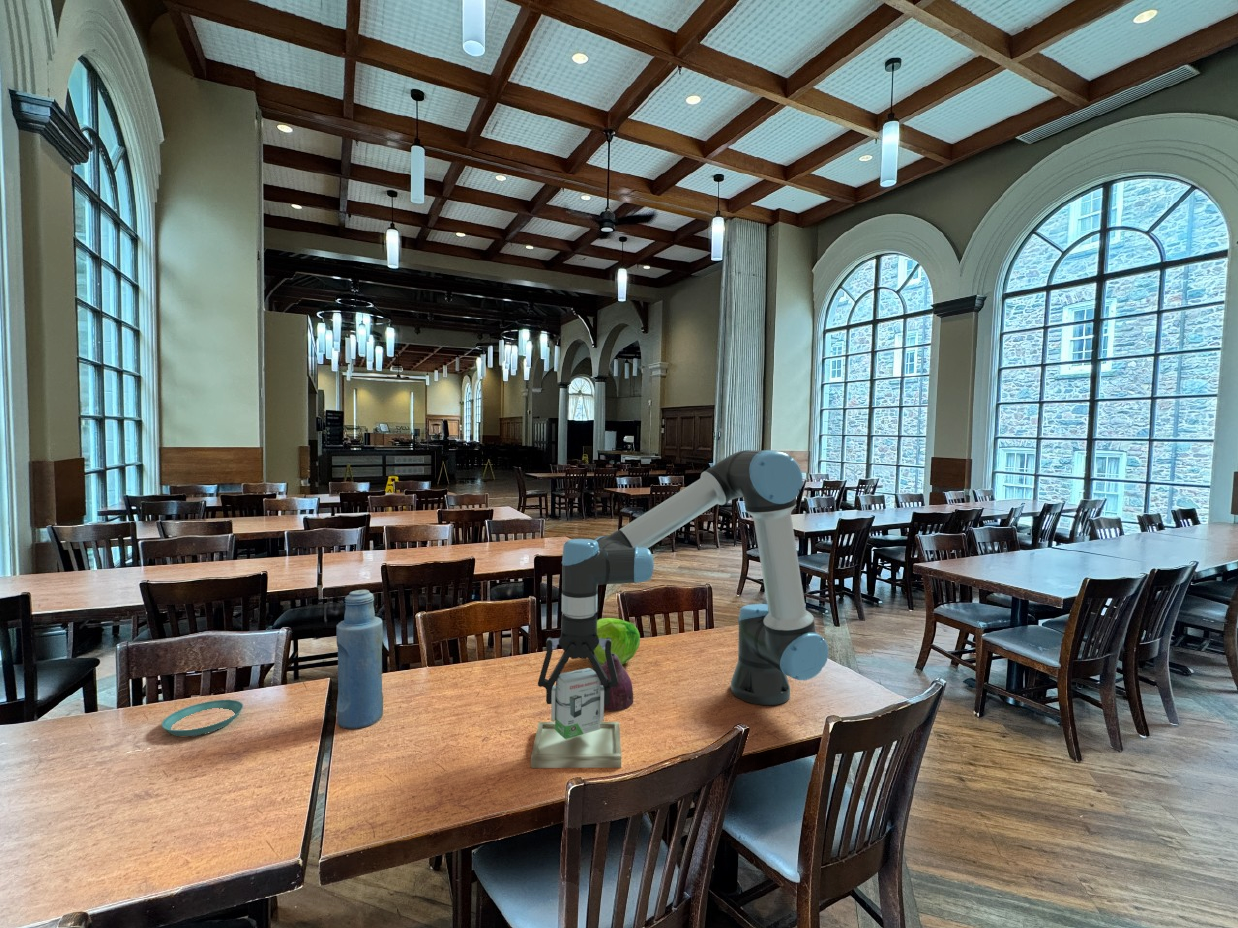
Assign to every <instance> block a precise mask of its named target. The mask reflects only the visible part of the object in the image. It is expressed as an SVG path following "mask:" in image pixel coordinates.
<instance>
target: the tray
mask: <svg viewBox="0 0 1238 928" xmlns="http://www.w3.org/2000/svg"><path fill="white" fill-rule="evenodd" d="M537 724H538V725H537V728H536V733H535V737H534V742H533V746H532V752H531V755H530V769H579V768H580V769H581V768H582V769H591V768H593V769H594V768H595V769H596V768H597V769H599V768H600V769H602V768H605V769H606V768H607V769H608V768H609V769H611V768H613V769H614V768H615V769H616V768H622V747H621V744H622V743H621V733H620V731H621V730H620V721H600V729H599V730H596V731H592V732H589V733H585V734H582V735H578V736H575V737H571V738H568V739H564V738H563V737H562V736H561V735H560V734H559V733H558V732H557V731H556V730H555V721H538V723H537Z"/></svg>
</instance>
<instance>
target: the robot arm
mask: <svg viewBox="0 0 1238 928" xmlns="http://www.w3.org/2000/svg"><path fill="white" fill-rule="evenodd" d="M803 481H804V480H803V473H802V470H801V467H800V466H799V464H798V463H797V461H796V460H795V459H794V458H793V457H792V456H790V455H789V454H787V453H785V452H782V451H777V450H773V449H766V450H764V449H763V450H762V449H761V450H759V449H758V450H747V449H746V450H740V451H737V452H734V453H732V454H731V455H728V456H727V457H725V458H723V459H721V460H720V461H718V462H716V463H715V464H714V465H712V466H711V467H708V468H707V469H706V470H704V471H703V472H701V474H700V478H699V479H697V480H695V481H694V482H692V483H691V484H689V485H688V486H686V487H685V488H683V489H681V490H680V491H677V493H675V494H674V495H672V496H670V497H669V498H667V499H665V500H664V501H663V502H661V503H660V504H658V505H656V506H654V507H652V508H651V509H649V510H648V511H646V512H645V513H643V514H642V515H640V516H638V517H636V518H635V519H633V520H632V521H631V522H629V523H627V524H626V525H624V526H622V527H621V528H620V529H618V530H616V531H614V532H612V533H611V534H610V535H602V536H598V537H596V538H595V539H590V538H573V539H568V540H566V541H565V542H564V544H563V547H562V549H563V550H562V561H561V564H562V565H561V566H562V567H561V569H562V570H561V571H562V572H561V573H562V575H561V576H562V577H561V578H562V581H561V582H562V583H561V584H562V585H561V613H562V615H561V623H560V624H561V628H560V629H561V631H560V632H561V633H560V636H559V637H555V638H552V636H548V637H547V639H546V641H545V646H546V651H545V657H544V659H543V664H542V666H541V671H540V673H539V677H538V681H537V686H538V687H539V688H541V687H543V688H544V689H545V691H546V693H545V694H546V695H545V697H546V698H545V699H546V701H545V702H546V704H547V705H551V712H550V714H551V718H550V719H551V720H550V722H555V703H556V680H557V678H558V676H559V675H560V674H561V673H562V671H563V669H564V667H565V665H566V664H567V662H568V661H569V659H572V660H573V659H575V660H576V659H581V660H583V659H585V660H586V659H587V660H588V662H589V663H590V665H591V666H592V669H593V670H594V671H595V672H596V674H597V676H598V678H599V680H600V681H601V683H602V685H601V691H600V722H605V720H604V719H605V710H604V704H609V696H610V689H611V688H612V687H617V686H618V677H617V673H616V669H615V665H614V661H613V657H612V653H611V638H609V637H607V638H606V639H601V638H599V637H598V635H597V620H598V615H597V614H596V613H598V586H599V585H618V584H637V583H638V584H639V583H644V582H645V583H646V582H648V581H649V580H651V578H652V576H653V574H654V557H653V555H652V552H651V550H650V549H649V548H650V547H652V546H654V545H655V544H656V543H658V542H660V541H662V540H663V539H665V537H667V536H669V535H670V534H672V533H674V532H676V531H677V530H678V529H680V528H681V527H683V526H684V525H687V524H688V523H690V522H691V521H692V520H694V519H696V518H697V517H698V516H700V515H702V514H703V513H705V512H707V511H708V510H710V509H711V508H713V507H714V506H716V505H720V506H723V505H725V504H727V503H728V502H730V501H732V500H735V499H738V498H743V501H744V502H743V503H744V508H745V513H746V514H747V513H748V515H750V516H751V517H752V518H753V523H754V529H755V536H756V541H757V549H758V554H759V561H760V567H761V573H762V579H763V585H764V594H765V598H766V604H765V603H755V604H747V605H744V606H742V607H741V608H740V609H739V614H738V643H737V644H738V649H737V650H738V651H737V652H738V653H737V654H738V655H737V656H738V657H737V664H736V666H735V669H734V672H733V675H732V678H731V680H730V691H731V693H732V695H733V696H735V697H736V698H737V699H740V700H741V701H744V702H747V703H750V704H754V705H758V706H759V705H760V706H776V705H781V704H784V703H786V702H788V701H789V699H790V698H791V686H790V683H789V680H788V677H790V678H792V679H794V680H797V681H807V680H808V681H809V680H811V679H812V678H815V677H816V676H818V675H819V674H820V673H821V671H822V670H823V668H824V667H826V664H827V661H828V658H829V645H828V643H827V641H826V639H825V638H823V636H822V635H821V634H820V633H817V631H816V624H815V618H814V615H813V614H812V613H811V612H810V611H808V610H807V609H806V604H805V603H806V601H805V597H804V589H803V584H802V578H801V570H800V565H799V557H798V551H797V544H796V537H795V531H794V524H793V518H792V517H793V516H792V512H793V510H794V509H795V507H797V499H796V498H797V497H798V495H799V494H800V492H799V491H800V490H802V486H803ZM598 644H599V645H601V648H602V649H603V650H605V656H606V660H607V664H608V668H609V672H610V676H611V679H610V680H608V678H607V676H606V674H605V672H604V670H603V669H602V667H601V666H602V665H601V664H600V663H599V661H598V659H597V657H596V655H595V652H594V650H595V648H596V647H597V646H598ZM558 645H559V646H560V647H561V649H562V650H563V653H562V655H561V656H560V659H559V660H558V662H557V663H556V666H555V667H554V669H553V671H552V673H551V674H550V676H549V678H548V679H547V678H546V677H547V673H548V670H549V666H550V663H551V659H552V655H553V651H554V650H556V649H557V646H558Z"/></svg>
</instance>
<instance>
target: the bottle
mask: <svg viewBox="0 0 1238 928" xmlns="http://www.w3.org/2000/svg"><path fill="white" fill-rule="evenodd" d="M374 601H375V597H374V593H371V592H370V590H368V589H358V590H357V589H356V590H353V591H350V592H349V594H348V595H346V596H345V597H344V602H345V610H344V616H343V617H344V618H343V619H344V620H341V621H340V622H338V624H336V647H337V687H338V688H337V690H338V691H337V692H338V693H337V701H336V721H337V722H336V723H337V725H338V726H339V727H340V728H344V729H348V730H350V729H351V730H352V729H353V730H355V729H356V730H357V729H361V728H366V727H369V726H372V725H373V724H375V723H377V722H378V721H380V720H381V719H382V717H383V715H384V695H383V678H382V677H383V655H382V653H383V651H382V649H383V638H384V637H383V636H384V635H383V634H384V633H383V632H384V631H383V627H384V626H383V619H382V618H380V617H378V616H375V615H376V613H375V612H376V611H375V607H374Z"/></svg>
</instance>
